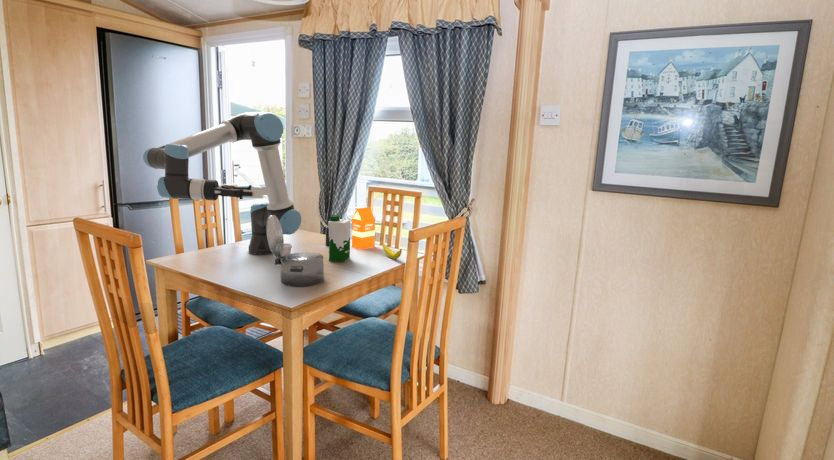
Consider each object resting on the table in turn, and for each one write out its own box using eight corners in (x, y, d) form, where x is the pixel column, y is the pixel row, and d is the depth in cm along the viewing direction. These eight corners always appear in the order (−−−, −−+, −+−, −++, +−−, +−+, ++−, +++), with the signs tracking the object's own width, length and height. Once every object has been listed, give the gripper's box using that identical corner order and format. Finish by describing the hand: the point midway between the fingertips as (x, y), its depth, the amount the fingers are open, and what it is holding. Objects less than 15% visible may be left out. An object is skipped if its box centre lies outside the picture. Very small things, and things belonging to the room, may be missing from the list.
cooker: (328, 272, 186) (327, 251, 184) (318, 289, 166) (317, 265, 164) (284, 271, 185) (283, 250, 184) (269, 288, 165) (268, 264, 163)
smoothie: (278, 265, 194) (277, 233, 191) (293, 265, 195) (292, 233, 192) (275, 269, 188) (273, 236, 185) (290, 269, 188) (289, 236, 186)
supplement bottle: (327, 246, 228) (327, 223, 225) (324, 243, 234) (323, 221, 231) (341, 245, 231) (340, 222, 228) (336, 242, 237) (336, 220, 234)
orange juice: (374, 246, 231) (375, 207, 227) (361, 249, 225) (361, 209, 221) (364, 243, 236) (365, 206, 232) (351, 246, 230) (351, 207, 226)
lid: (278, 211, 178) (273, 212, 178) (265, 219, 162) (260, 220, 162) (286, 250, 181) (281, 251, 181) (275, 261, 166) (269, 262, 166)
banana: (385, 252, 220) (385, 240, 218) (404, 262, 204) (404, 249, 202) (379, 253, 218) (379, 240, 217) (398, 263, 202) (398, 249, 201)
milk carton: (333, 256, 211) (333, 214, 207) (352, 258, 209) (352, 215, 205) (326, 261, 202) (325, 217, 198) (345, 263, 200) (345, 218, 196)
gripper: (214, 196, 179) (270, 199, 183) (194, 203, 155) (259, 206, 158) (214, 177, 178) (271, 181, 181) (194, 181, 154) (259, 184, 157)
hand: (265, 192), depth 170 cm, fingers open, 13 cm apart
